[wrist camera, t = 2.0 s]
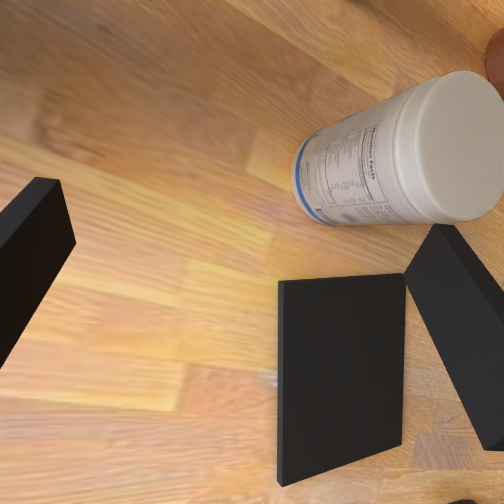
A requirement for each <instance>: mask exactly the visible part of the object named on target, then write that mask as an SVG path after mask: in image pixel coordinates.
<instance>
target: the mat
mask: <svg viewBox="0 0 504 504" xmlns="http://www.w3.org/2000/svg"><path fill="white" fill-rule="evenodd" d="M405 303H406V283H405V280H404V278H403V274H402V273H393V274H378V275H363V276H347V277H332V278H317V279H301V280H286V281H278V428H277V481H278V483H279V484H280V485H281V487H284V486H287V485H290V484H293V483H296V482H298V481H301V480H304V479H307V478H310V477H313V476H315V475H318V474H321V473H324V472H327V471H329V470H332V469H335V468H338V467H341V466H343V465H346V464H349V463H352V462H355V461H357V460H360V459H363V458H366V457H369V456H371V455H374V454H377V453H380V452H383V451H386V450H388V449H391V448H394V447H397V446H400V445H402V411H403V375H404V339H405Z"/></svg>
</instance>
